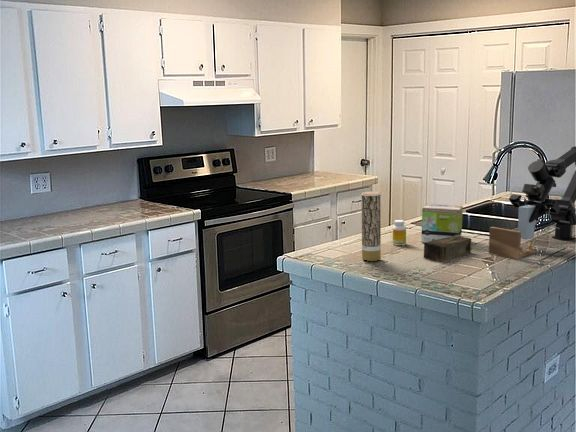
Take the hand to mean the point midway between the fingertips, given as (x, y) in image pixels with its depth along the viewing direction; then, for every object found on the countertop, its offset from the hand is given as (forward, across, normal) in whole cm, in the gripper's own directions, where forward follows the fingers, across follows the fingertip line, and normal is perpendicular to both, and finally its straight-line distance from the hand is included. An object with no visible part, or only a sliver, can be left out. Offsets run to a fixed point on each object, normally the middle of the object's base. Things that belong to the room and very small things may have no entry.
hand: (524, 221), depth 230 cm
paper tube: (+44, -30, -28) cm, 60 cm away
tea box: (+16, -30, +1) cm, 34 cm away
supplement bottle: (+27, -39, -10) cm, 48 cm away
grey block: (+4, 0, +6) cm, 7 cm away
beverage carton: (+27, -14, -10) cm, 32 cm away
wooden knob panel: (+13, 0, +3) cm, 13 cm away
